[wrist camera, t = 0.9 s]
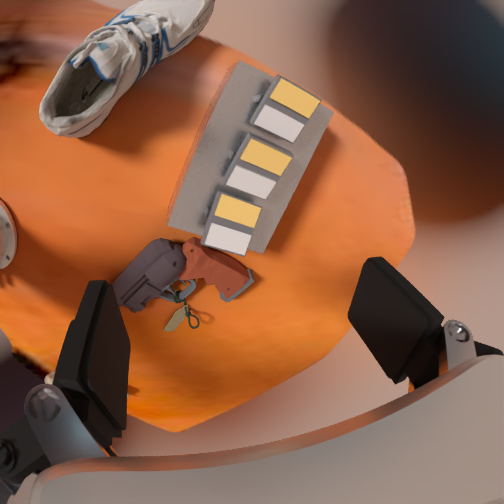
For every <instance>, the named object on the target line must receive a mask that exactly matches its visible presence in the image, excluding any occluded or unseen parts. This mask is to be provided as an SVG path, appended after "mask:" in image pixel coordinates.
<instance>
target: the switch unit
mask: <svg viewBox="0 0 504 504" xmlns="http://www.w3.org/2000/svg"><path fill="white" fill-rule="evenodd" d="M274 79H275V77H273V76H271V75H269V74H267V73H265V72H263V71H261V70H259V69H257V68H255V67H252V66H250V65H248V64H246V63H244V62H242V61H238V62H236V63H235V64H234V65H233V66H231V67H230V68H229V69H228V70H227V72H226V74H225V76H224V78H223V80H222V82H221V84H220V86H219V88H218V90H217V92H216V94H215V96H214V98H213V100H212V102H211V104H210V106H209V108H208V110H207V113H206V115H205V117H204V119H203V121H202V124H201V126H200V128H199V130H198V133H197V135H196V137H195V139H194V142H193V144H192V146H191V149H190V151H189V154H188V156H187V159H186V161H185V163H184V166H183V169H182V171H181V174H180V176H179V179H178V181H177V184H176V187H175V189H174V192H173V195H172V198H171V200H170V203H169V206H168V219H167V226H170V227H174V228H177V229H180V230H184V231H187V232H191V233H194V234H197V235H201V236H202V235H203V232H204V229H205V226H206V223H207V220H208V217H209V214H210V211H211V208H212V205H213V202H214V200H215V197H216V194H217V191H221V192H224V193H226V194H229V195H232V196H235V197H238V198H240V199H243V200H246V201H249V202H251V203H254V204H257V205H259V206H262V210H261V212H260V215H259V218H258V221H257V224H256V226H255V229H254V232H253V235H252V238H251V240H250V243H249V246H248V250H252V251H255V252H259V253H262V254H263V252H264V250H265V249H266V247H267V245H268V243H269V241H270V239H271V237H272V235H273V233H274V231H275V229H276V227H277V225H278V223H279V221H280V219H281V217H282V215H283V213H284V211H285V209H286V207H287V205H288V203H289V201H290V199H291V197H292V195H293V193H294V191H295V189H296V187H297V185H298V183H299V181H300V179H301V177H302V175H303V174H304V172H305V170H306V168H307V166H308V163H309V161H310V159H311V157H312V155H313V153H314V151H315V149H316V147H317V145H318V143H319V141H320V139H321V137H322V135H323V133H324V131H325V129H326V127H327V125H328V123H329V121H330V119H331V117H332V115H333V113H334V112H333V111H331V110H329V109H328V108H326V107H325V106H323V105H322V104H319V105H318V107H317V108H316V110H315V111H314V113H313V114H312V116H311V117H310V119H309V120H308V122H307V123H306V125H305V126H304V128H303V130H302V131H301V133H300V134H299V136H298V137H297V139H296V140H295V142H294V143H293V144H291V143H289V142H287V141H286V140H284V139H282V138H279V137H277V136H275V135H273V134H271V133H269V132H267V131H265V130H263V129H261V128H259V127H256V126H254V125H252V124H251V123H250V119H251V117H252V116H253V114H254V112H255V111H256V109H257V107H258V105H259V104H260V102H261V100H262V99H263V97H264V95H265V94H266V92H267V90H268V89H269V87H270V85H271V84H272V82H273V80H274ZM248 132H251V133H253V134H255V135H257V136H260V137H262V138H264V139H266V140H268V141H270V142H273V143H275V144H277V145H279V146H281V147H283V148H285V149H287V150H289V151H291V152H292V154H293V155H294V157H293V159H292V160H291V162H290V163H289V165H288V166H287V168H286V169H285V171H284V172H283V174H282V175H281V177H280V179H279V180H278V182H277V183H276V185H275V186H274V188H273V189H272V191H271V193H270V194H269V196H268V197H267V199H266V200H264V199H262V198H259V197H256V196H254V195H251V194H248V193H246V192H243V191H241V190H238V189H235V188H232V187H230V186H227V185H224V183H223V178H224V176H225V174H226V172H227V170H228V168H229V166H230V164H231V162H232V161H233V159H234V157H235V155H236V153H237V151H238V150H239V148H240V146H241V144H242V142H243V141H244V139H245V137H246V135H247V133H248Z"/></svg>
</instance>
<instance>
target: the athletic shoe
mask: <svg viewBox="0 0 504 504" xmlns="http://www.w3.org/2000/svg"><path fill="white" fill-rule="evenodd" d="M214 2H215V0H141V1H140V2H138V3H136V4H134V5H132V6H131V7H129V8H127V9H125V10H124V11H122V12H121V13H119V14H118V15H117V16H116V17H114V18H113V19H112V20H110V21H109V22H107V23H106V24H105V25H104V26H103V27H101V28H99V29H97V30H95V31H93V32H91V33H90V34H89V35H88V36H87V37H86V39H85V41H84V42H83V43H81V44H79V45H78V46H77V47H76V48H75V49H74V50H73V51H72V52H71V53H70V54H69V55H68V56H67V57H66V58H65V61H64V62H63V64H62V66H61V67H60V69H59V71H58V72H57V74H56V76H55V78H54V80H53V81H52V83H51V85H50V87H49V88H48V90H47V92H46V94H45V96H44V98H43V100H42V102H41V104H40V109H39V117H40V119H41V121H42V122H43V124H44V125H45V126H46V127H47V129H48V130H50V131H51V132H53V133H54V134H56V135H58V136H66V137H86V136H88V135H90V133H91V132H92V131H93V130H94V129H95V128H98V127H99V126H100V125H101V124H102V123H103V122H104V121H105V120H106V119H107V116H108V115H109V114H110V112H111V110H112V108H113V107H114V105H115V103H116V102H117V100H118V99H119V98H120V97H121V96H122V95H123V94H124V93H125V92H126V91H128V90H129V89H130V88H131V87H132V86H133V85H134V84H135V83H136V82H137V81H138V80H139V79H140V78H141V77H142V76H143V75H144V74H145V73H146V72H147V70H149V69H150V68H152V67H153V66H155V65H156V64H158V63H159V62H161V61H162V60H164V59H165V58H167V57H169V56H171V55H173V54H175V53H176V52H178V51H180V50H181V49H182V48H184V47H185V46H186V45H188V44H189V43H190V42H191V41H192V40H193V39H194V38H195V37H196V35H198V34H199V33H200V32H201V31H202V30H203V28H204V27H205V25H206V24H207V22H208V20H209V18H210V16H211V14H212V12H213V7H214ZM94 34H95V35H94ZM93 35H94V36H93Z"/></svg>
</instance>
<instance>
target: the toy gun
mask: <svg viewBox="0 0 504 504" xmlns="http://www.w3.org/2000/svg"><path fill="white" fill-rule="evenodd" d="M200 241H201V239H198V238H196V237H193V238H191V239H189V240H188V241H186V242H185V243H184V244H183V247H182V246H181V245H179V244H176V243H172V241H171V240H168V239H162V238H159V239H156V240H154V241H152V242H151V243H149V244H148V245H147V246H146V247H145V248H144V249H143V250H142V251H141V252H140V253H139V254H138V256H137V257H136V258H135V259H134V260H133V261H132V262H131V263H130V264H129V265H128V266H127V267H126V268H125V270H124V271H123V272H122V273H121V274H120V275H119V276H118V277H117V278H116V280H115V281H114V282H113V283H112V286H113V289H114V293H115V296H116V299H117V303H118V306H119V307H120V306H121V305H123V306H125V307H127V308H129V309H130V311H132V312H134V313H136V312H137V311H142V310H143V309H144V308H145V307H146V303H147V302H148V301H149V300H151V299H152V298H153V297H154V298H157V297H158V296H159V297H160V298H162V299H165V300H168V301H172V302H175V303H181V302H184V307H182V308H181V309H179V310H178V311H176V312H175V313H174V315H173V316H172V318H171V319H170V321H169V322H168V324H167V325H166V327H165V328H164V330H163V331H174V330H175V329H176V328H177V327H178V326H179V324H180V323H181V322H182V321H183V320H184V318H185V317H188V322H189V326H190V327H191V328H193V329H195V328H197V327H198V326H199V319H198V318H197V317H196V316H195V315H192V314H191V312H190V310H191V309H189V310H188V305H186V300H185V298H186V297H187V296H188V295H189V294H191V293H192V292H193V291H194V289H195V288H196V281H195V279H197V278H204V280H205V281H206V283H207V284H208V285H214V284H216V288H217V289H218V290H219V292H220V298H221V299H222V300H223V301H225V302H230V301H231V300H232V299H234V298H235V297H236V296H238V295H239V294H240V293H242V292H243V291H244V290H245V289H246V288H247V287H248V286H250V285H251V284H252V283H253V282H254V281H255V280H254V277H253V274H252V271H251V270H250V269H249V268H248V269H247V270H246V269H245V268H244V267H243V266H242V265H241V264H240V263H238V262H237V261H236V260H234V259H232V258H231V257H229V256H227V255H224V254H222V253H220V252H217V251H214V250H211V249H209V248H208V247H207V246H205V245H202V244H201V243H200ZM176 280H180V281H182V282H183V283H184V284H185V280H188V281H190V282H191V284H190V285H189V286H188V287H187V288H186V289H185V290H183V291H182V292H180V291H176V293H175V291H174V289H173V288H172V287H170V285H172V284H173V283H174V282H175V281H176ZM165 289H166V290H169V291H171V292H172V293H173V294H169V293H167V292H164V290H165ZM126 300H127V301H126ZM189 315H190V316H193V317H195V318H196V319H197V321H198V325H197V326H196V327H192V326H191V323H190V316H189Z"/></svg>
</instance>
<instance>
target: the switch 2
mask: <svg viewBox="0 0 504 504" xmlns="http://www.w3.org/2000/svg"><path fill="white" fill-rule="evenodd" d="M293 157H294V155H293V154H292V152H291V151H289V150H287V149H285V148H283V147H281V146H279V145H277V144H275V143H273V142H270V141H268V140H266V139H264V138H262V137H260V136H257V135H255V134H253V133H251V132H248V133H247V135H246V137H245V139H244V141H243V142H242V144H241V146H240V148H239V150H238V151H237V153H236V155H235V157H234V159H233V161H232V162H231V164H230V166H229V168H228V170H227V172H226V174H225V176H224V178H223V183H224V185H227V186H230V187H232V188H235V189H238V190H241V191H243V192H246V193H248V194H251V195H254V196H256V197H259V198H262V199H264V200H266V199H267V197H268V196H269V194H270V193H271V191H272V189H273V188H274V186H275V185H276V183H277V182H278V180H279V179H280V177H281V175H282V174H283V172H284V171H285V169H286V168H287V166H288V165H289V163H290V162H291V160H292V159H293Z"/></svg>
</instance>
